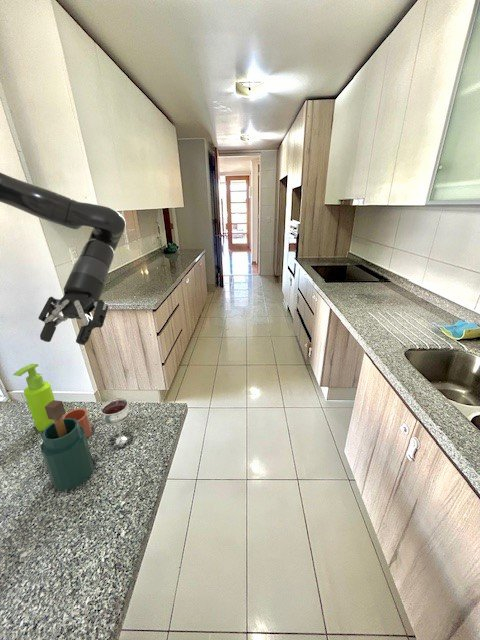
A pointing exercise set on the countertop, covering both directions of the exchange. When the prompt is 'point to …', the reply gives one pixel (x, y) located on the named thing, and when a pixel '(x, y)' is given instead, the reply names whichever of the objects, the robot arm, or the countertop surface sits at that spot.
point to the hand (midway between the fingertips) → (62, 342)
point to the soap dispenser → (37, 396)
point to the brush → (57, 416)
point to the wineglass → (115, 414)
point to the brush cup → (80, 419)
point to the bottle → (67, 455)
